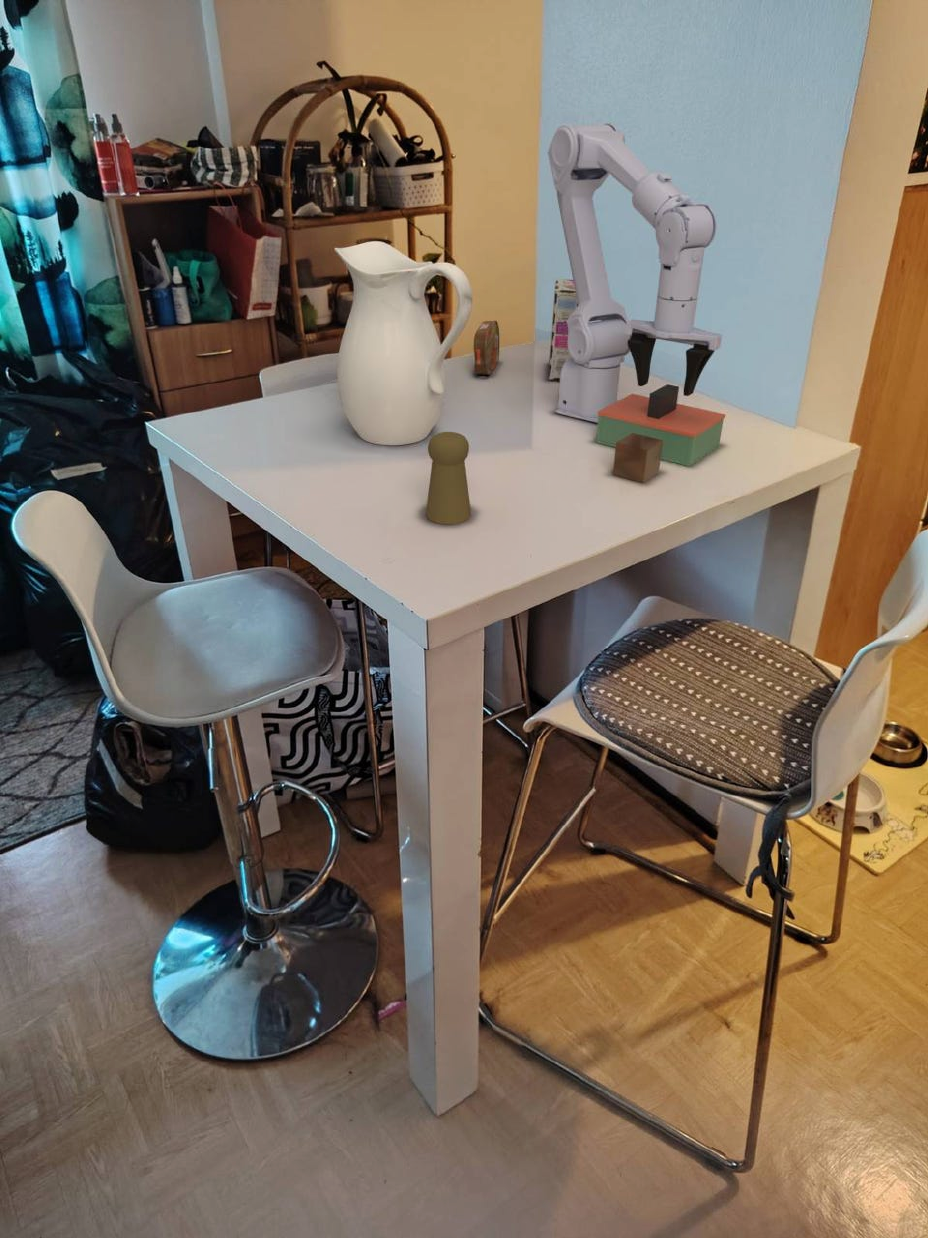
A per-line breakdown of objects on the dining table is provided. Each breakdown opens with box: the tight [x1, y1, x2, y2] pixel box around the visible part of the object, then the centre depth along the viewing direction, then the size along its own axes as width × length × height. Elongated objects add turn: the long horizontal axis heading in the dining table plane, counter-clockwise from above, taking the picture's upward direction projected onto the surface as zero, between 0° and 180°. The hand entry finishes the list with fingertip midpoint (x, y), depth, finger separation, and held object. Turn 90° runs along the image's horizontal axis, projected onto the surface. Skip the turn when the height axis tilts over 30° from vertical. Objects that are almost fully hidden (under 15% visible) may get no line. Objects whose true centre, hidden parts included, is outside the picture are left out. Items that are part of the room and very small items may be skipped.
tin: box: [473, 320, 500, 376], centre depth 172 cm, size 15×3×8 cm, turn 168°
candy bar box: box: [548, 278, 578, 382], centre depth 168 cm, size 11×5×16 cm, turn 174°
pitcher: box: [333, 240, 473, 446], centre depth 134 cm, size 24×17×28 cm
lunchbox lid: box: [598, 383, 726, 438], centre depth 137 cm, size 16×11×4 cm
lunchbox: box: [595, 415, 725, 467], centre depth 140 cm, size 16×11×4 cm
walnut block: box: [612, 433, 663, 484], centre depth 129 cm, size 5×5×5 cm
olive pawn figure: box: [425, 431, 472, 525], centre depth 115 cm, size 6×6×11 cm
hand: (665, 389), depth 136 cm, fingers open, 7 cm apart
